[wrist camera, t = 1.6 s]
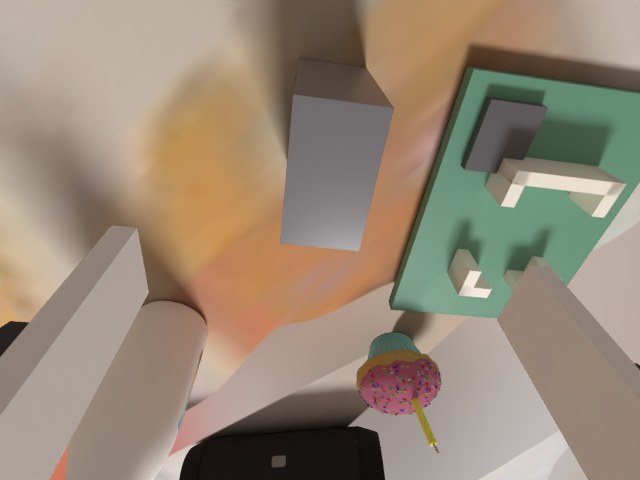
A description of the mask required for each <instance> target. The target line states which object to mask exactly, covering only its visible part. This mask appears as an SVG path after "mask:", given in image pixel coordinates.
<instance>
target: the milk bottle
mask: <svg viewBox="0 0 640 480" xmlns="http://www.w3.org/2000/svg"><path fill="white" fill-rule="evenodd" d="M207 335H208V330H207V325H206V323H205V321H204V319H203V318H202V316H201V315H200V314H199V313H198V312H197V311H195V310H194V309H192V308H191V307H188V306H186V305H184V304H181V303H178V302H173V301H154V302H151V303H148V304H146V305H144V306H142V307H141V308H140V310H139V312H138V314H137V316H136V318H135V320H134V321H133V323H132V325H131V327H130V329H129V331H128V333H127V335H126V336H125V338H124V340H123V342H122V344H121V346H120V348H119V350H118V352H117V353H116V355H115V357H114V359H113V361H112V363H111V365H110V367H109V368H108V370H107V372H106V374H105V376H104V378H103V380H102V382H101V383H100V385H99V387H98V389H97V391H96V393H95V395H94V397H93V398H92V400H91V402H90V404H89V406H88V408H87V410H86V412H85V413H84V415H83V417H82V419H81V421H80V423H79V425H78V427H77V428H76V430H75V432H74V434H73V436H72V438H71V440H70V443H69V447H68V454H67V465H66V480H153V479H154V477H155V476H156V475H157V473H158V472H159V471H160V469H161V468H162V466H163V464H164V463H165V461H166V459H167V458H168V456H169V454H170V452H171V449H172V447H173V445H174V442H175V440H176V437H177V434H178V431H179V428H180V425H181V422H182V419H183V416H184V413H185V410H186V406H187V403H188V400H189V397H190V394H191V390H192V387H193V384H194V380H195V377H196V374H197V370H198V367H199V364H200V360H201V357H202V354H203V350H204V347H205V343H206V339H207Z"/></svg>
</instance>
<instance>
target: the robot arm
mask: <svg viewBox="0 0 640 480" xmlns="http://www.w3.org/2000/svg"><path fill="white" fill-rule="evenodd" d="M148 293H149V290H148V284H147V279H146V273H145V268H144V262H143V257H142V251H141V245H140V240H139V234H138V229H137V228H136V227H125V226H115V225H112V226H111V227H110V228H109V229H108V230H107V231H106V233H105V234H104V235H103V236H102V237H101V239H100V240H99V241H98V242H97V243H96V244H95V246H94V247H93V248H92V249H91V250H90V252H89V253H88V254H87V255H86V256H85V257H84V259H83V260H82V261H81V262H80V263H79V265H78V266H77V267H76V268H75V269H74V270H73V272H72V273H71V274H70V275H69V276H68V278H67V279H66V280H65V281H64V282H63V283H62V285H61V286H60V287H59V288H58V289H57V291H56V292H55V293H54V294H53V295H52V297H51V298H50V299H49V300H48V301H47V302H46V304H45V305H44V306H43V307H42V308H41V310H40V311H39V312H38V313H37V314H36V315H35V317H34V318H33V319H32V320H31V321H30V323H28V322H14V321H10V322H8V323H7V324H5V325H4V326H2V327H1V328H0V480H49V479H50V477H51V475H52V474H53V472H54V470H55V468H56V466H57V464H58V462H59V460H60V459H61V457H62V455H63V453H64V451H65V449H66V447H67V445H68V443H69V442H70V440H71V438H72V436H73V434H74V432H75V430H76V428H77V427H78V425H79V423H80V421H81V419H82V417H83V415H84V413H85V412H86V410H87V408H88V406H89V404H90V402H91V400H92V398H93V397H94V395H95V393H96V391H97V389H98V387H99V385H100V383H101V382H102V380H103V378H104V376H105V374H106V372H107V370H108V368H109V367H110V365H111V363H112V361H113V359H114V357H115V355H116V353H117V352H118V350H119V348H120V346H121V344H122V342H123V340H124V338H125V336H126V335H127V333H128V331H129V329H130V327H131V325H132V323H133V321H134V320H135V318H136V316H137V314H138V312H139V310H140V308H141V306H142V305H143V303H144V301H145V299H146V297H147V295H148ZM497 321H498V322H499V324H500V326H501V328H502V330H503V331H504V333H505V335H506V336H507V338H508V340H509V342H510V344H511V345H512V347H513V349H514V351H515V352H516V354H517V356H518V358H519V359H520V361H521V363H522V364H523V366H524V368H525V370H526V371H527V373H528V375H529V377H530V379H531V380H532V382H533V384H534V386H535V387H536V389H537V391H538V393H539V394H540V396H541V398H542V400H543V401H544V403H545V405H546V407H547V408H548V410H549V412H550V414H551V415H552V417H553V419H554V420H555V422H556V424H557V426H558V428H559V429H560V431H561V433H562V435H563V436H564V438H565V440H566V442H567V443H568V445H569V447H570V448H571V450H572V452H573V454H574V455H575V457H576V459H577V461H578V462H579V464H580V466H581V468H582V470H583V471H584V473H585V475H586V476H587V478H588V480H640V365H638V364H636V363H633V362H632V361H631V359H630V358H629V357H628V356H627V355H626V354H625V353H624V352H623V350H622V349H621V348H620V347H619V346H618V345H617V343H616V342H615V341H614V340H613V339H612V338H611V337H610V336H609V334H608V333H607V332H606V331H605V330H604V329H603V327H602V326H601V325H600V324H599V323H598V322H597V321H596V319H595V318H594V317H593V316H592V315H591V314H590V313H589V311H588V310H587V309H586V308H585V307H584V306H583V305H582V303H581V302H580V301H579V300H578V299H577V298H576V296H575V295H574V294H573V293H572V292H571V291H570V290H569V288H568V287H567V286H566V285H565V284H564V283H563V282H562V280H561V279H560V278H559V277H558V276H557V275H556V274H555V272H554V271H553V270H552V269H551V268H550V267H547V266H536V265H529V266H528V268H527V269H526V271H525V273H524V274H523V276H522V278H521V280H520V281H519V283H518V285H517V286H516V288H515V290H514V292H513V293H512V295H511V297H510V298H509V300H508V302H507V304H506V305H505V307H504V309H503V310H502V312H501V314H500V315H499V317H498V319H497Z"/></svg>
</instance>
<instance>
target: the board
mask: <svg viewBox="0 0 640 480" xmlns="http://www.w3.org/2000/svg"><path fill="white" fill-rule="evenodd" d="M639 182H640V92H638V91H632V90H625V89H618V88H612V87H605V86H598V85H592V84H585V83H578V82H571V81H565V80H558V79H551V78H545V77H538V76H531V75H525V74H518V73H511V72H505V71H498V70H491V69H485V68H478V67H471V66H467V69H466V71H465V74H464V77H463V80H462V83H461V86H460V89H459V92H458V95H457V98H456V101H455V104H454V107H453V110H452V113H451V116H450V119H449V122H448V125H447V128H446V131H445V134H444V137H443V140H442V143H441V146H440V149H439V152H438V155H437V158H436V161H435V164H434V167H433V170H432V173H431V176H430V179H429V182H428V185H427V188H426V191H425V194H424V197H423V200H422V203H421V206H420V209H419V212H418V215H417V218H416V221H415V224H414V227H413V230H412V233H411V236H410V239H409V242H408V245H407V248H406V251H405V254H404V257H403V260H402V263H401V266H400V269H399V272H398V275H397V278H396V281H395V284H394V287H393V290H392V293H391V296H390V299H389V304H390V308H391V310H403V311H415V312H427V313H439V314H451V315H463V316H476V317H488V318H498V317H499V315H500V314H501V312H502V310H503V309H504V307H505V305H506V304H507V302H508V300H509V298H510V297H511V295H512V293H513V292H514V290H515V288H516V286H517V285H518V283H519V281H520V280H521V278H522V276H523V274H524V273H525V271H526V269H527V268H528V266H529V265H536V266H547V267H550V268H551V269H552V270H553V271H554V272H555V274H556V275H557V276H558V277H559V278H560V279H561V280H562V282H563V283H564V284H565V285H566V286H567V285H568V284H569V282H570V281H571V279H572V278H573V277H574V275H575V274H576V272H577V271H578V269H579V268H580V267H581V265H582V264H583V262H584V261H585V259H586V258H587V256H588V255H589V254H590V252H591V251H592V249H593V248H594V247H595V245H596V244H597V242H598V241H599V239H600V238H601V237H602V235H603V234H604V232H605V231H606V229H607V228H608V227H609V225H610V224H611V222H612V221H613V219H614V218H615V217H616V215H617V214H618V212H619V211H620V209H621V208H622V207H623V205H624V204H625V202H626V201H627V199H628V198H629V197H630V195H631V194H632V192H633V191H634V189H635V188H636V187H637V185H638V184H639Z"/></svg>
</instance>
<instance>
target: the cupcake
mask: <svg viewBox="0 0 640 480" xmlns="http://www.w3.org/2000/svg"><path fill="white" fill-rule="evenodd" d="M441 384H442V382H441V378H440V372H439V368H438V366H437V364H436V363H435V362H434V361H432V360H431V358H430V357H429V356H428V355H426V354H421V353H420V351H419V350H418V349H417V347H416V346H415V345H414V343H413V342H412V340H411V339H410V338H409V337H408V336H407V335H405V334H402V333H397V332H390V333H385V334H382V335H380V336H378V337H377V338H375V339H374V340H373V342H372V343H371V345H370V351H369V356H368V360H367V361H366V362H365V363H364V364H363V365H362V366H361V367H360V368H359V369H358V371H357V387H358V390H359V392H360V394H361V397H362V398H363V399H364V401H365V402H367V406H371V408H372V407H373V408H375V409H377V410H379V411H380V412H381V413H383V414H384V413H388V414H390V415H393V414H395V415H397V414H412V413H413V412H416V413H417V416H418V419H419V421H420V423H421V426H422V428H423V431H424V433H425V435H426V438H427V440H428V442H429V445H430V446H434V448H435V450H436V452H437V453H438V454H439V453H440V452H439V451H438V449H437V447H436V444H437V442H436V440H435V438H434V436H433V433H432V431H431V428H430V426H429V424H428V422H427V420H426V417H425V415H424V412H423V410H422V408H424V407H426V406H427V405H429V404H430V402H431V401H432V400H433V399H434V398H435V397H436V395H437V393H438V391H439V390H440V385H441Z"/></svg>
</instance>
